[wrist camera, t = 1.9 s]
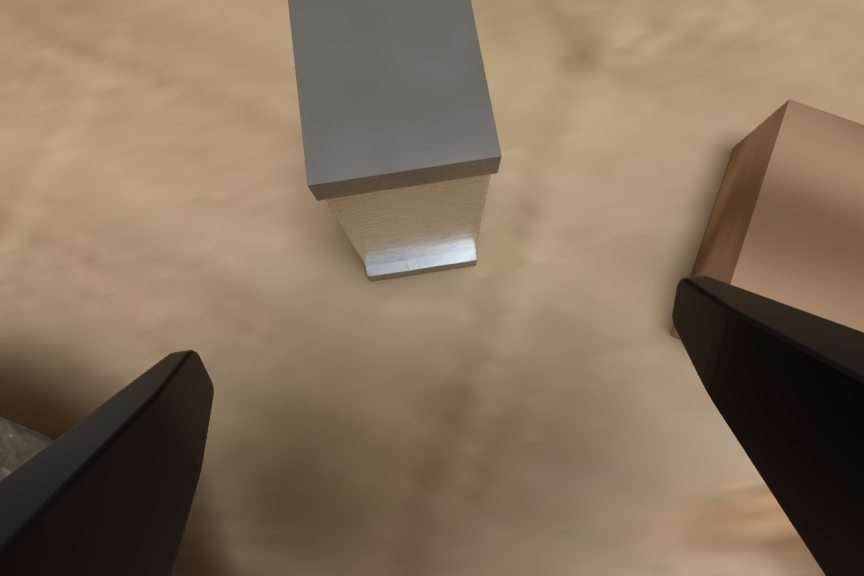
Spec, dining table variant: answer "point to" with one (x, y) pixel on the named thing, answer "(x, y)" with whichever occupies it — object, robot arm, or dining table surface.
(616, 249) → the dining table surface
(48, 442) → the stone bowl
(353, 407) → the dining table surface
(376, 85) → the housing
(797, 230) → the stand
